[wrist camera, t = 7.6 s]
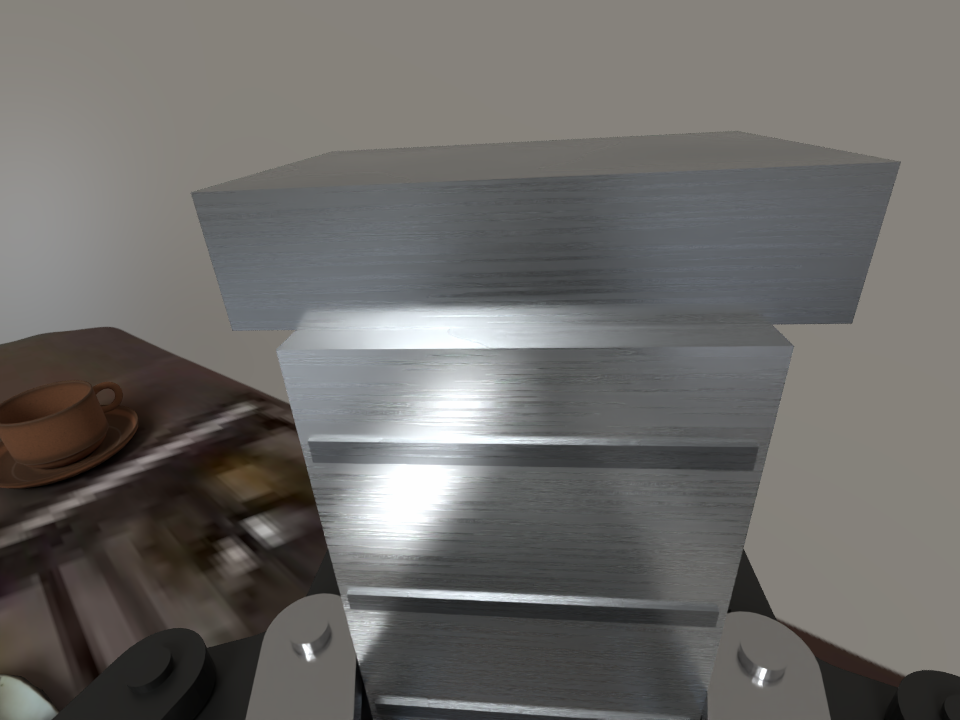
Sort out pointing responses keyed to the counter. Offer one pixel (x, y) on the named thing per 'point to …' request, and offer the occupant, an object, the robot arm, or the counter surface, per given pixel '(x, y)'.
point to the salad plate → (23, 700)
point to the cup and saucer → (60, 432)
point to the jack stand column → (542, 394)
